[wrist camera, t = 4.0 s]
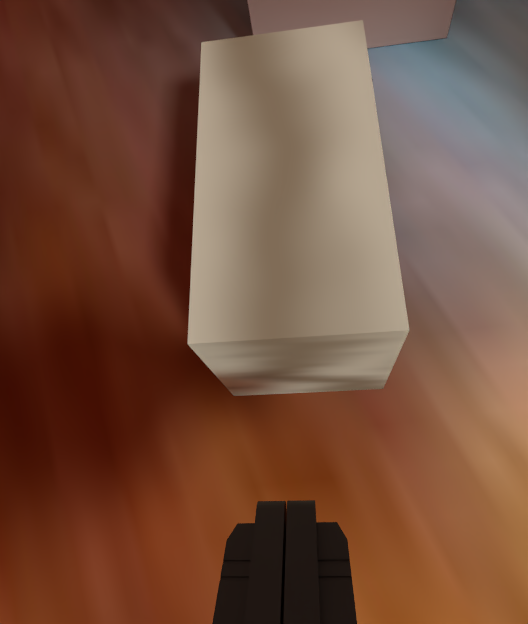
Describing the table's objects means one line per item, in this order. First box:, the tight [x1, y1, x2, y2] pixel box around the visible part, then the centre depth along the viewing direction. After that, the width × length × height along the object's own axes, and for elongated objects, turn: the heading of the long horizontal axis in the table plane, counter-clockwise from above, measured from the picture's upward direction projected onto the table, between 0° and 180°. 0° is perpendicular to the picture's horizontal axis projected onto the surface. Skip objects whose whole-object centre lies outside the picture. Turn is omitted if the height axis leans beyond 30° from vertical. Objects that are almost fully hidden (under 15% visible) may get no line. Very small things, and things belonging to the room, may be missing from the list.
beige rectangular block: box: [188, 20, 409, 396], centre depth 21 cm, size 7×14×8 cm, turn 1°
